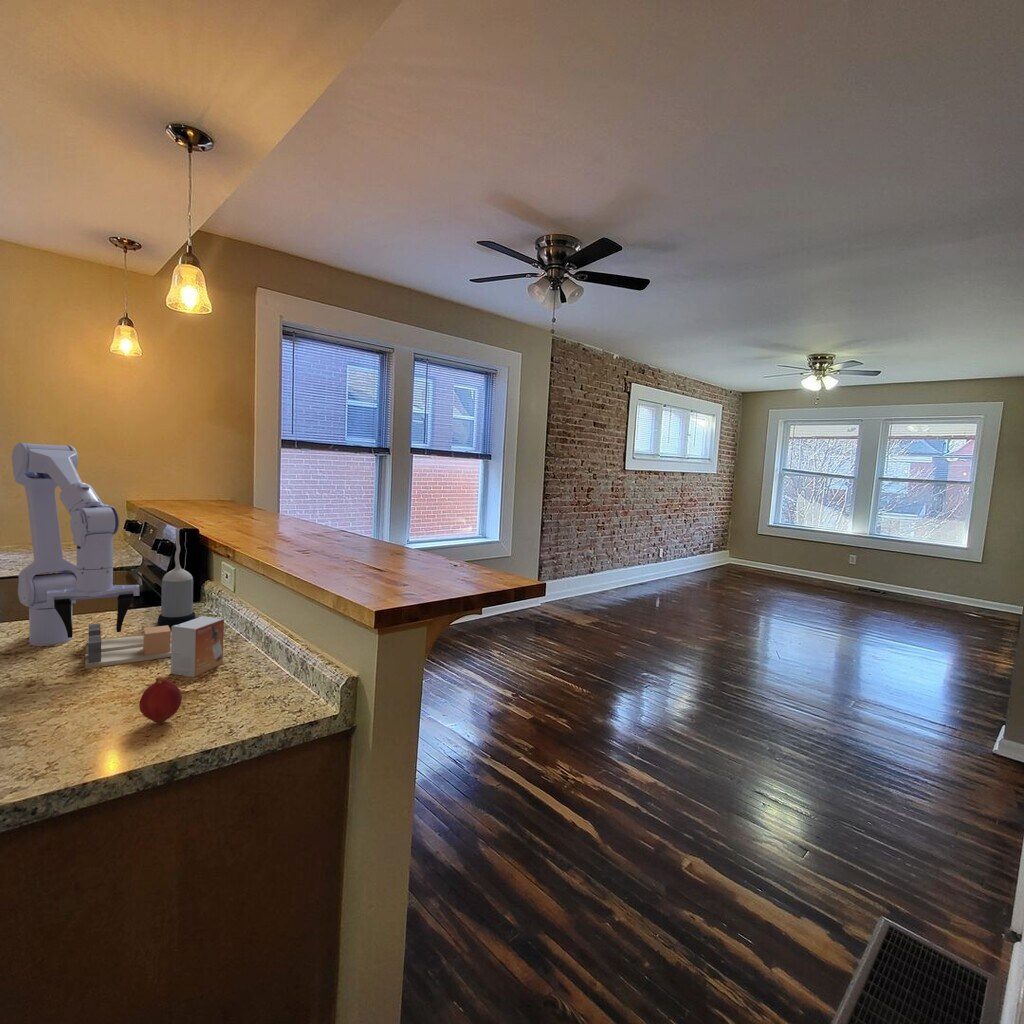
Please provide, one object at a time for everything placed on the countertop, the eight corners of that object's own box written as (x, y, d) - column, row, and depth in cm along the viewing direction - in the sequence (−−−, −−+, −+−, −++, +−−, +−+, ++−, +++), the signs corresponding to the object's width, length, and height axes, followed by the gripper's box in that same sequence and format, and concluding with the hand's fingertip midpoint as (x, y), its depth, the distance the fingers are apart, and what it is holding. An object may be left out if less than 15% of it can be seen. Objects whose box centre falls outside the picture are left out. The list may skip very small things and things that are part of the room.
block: (143, 648, 115) (143, 628, 114) (168, 645, 118) (168, 625, 117) (144, 655, 111) (145, 634, 111) (170, 651, 114) (170, 631, 114)
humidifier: (156, 623, 136) (157, 526, 134) (193, 619, 141) (195, 526, 139) (158, 632, 130) (159, 531, 127) (197, 628, 135) (199, 530, 132)
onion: (152, 714, 91) (153, 668, 90) (188, 714, 91) (188, 669, 91) (131, 731, 85) (131, 682, 84) (169, 731, 86) (170, 683, 85)
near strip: (85, 658, 110) (85, 635, 109) (176, 646, 119) (177, 625, 119) (85, 668, 105) (85, 645, 104) (180, 655, 114) (180, 633, 114)
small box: (194, 681, 104) (195, 629, 103) (169, 677, 105) (170, 625, 104) (223, 667, 112) (225, 618, 111) (200, 663, 113) (201, 615, 112)
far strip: (85, 645, 116) (85, 623, 116) (172, 635, 126) (172, 615, 126) (85, 654, 111) (85, 632, 111) (175, 643, 121) (175, 622, 121)
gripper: (45, 573, 99) (45, 644, 100) (140, 568, 108) (140, 633, 109) (47, 566, 104) (48, 634, 105) (138, 562, 113) (137, 624, 114)
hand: (94, 633), depth 107 cm, fingers open, 7 cm apart
